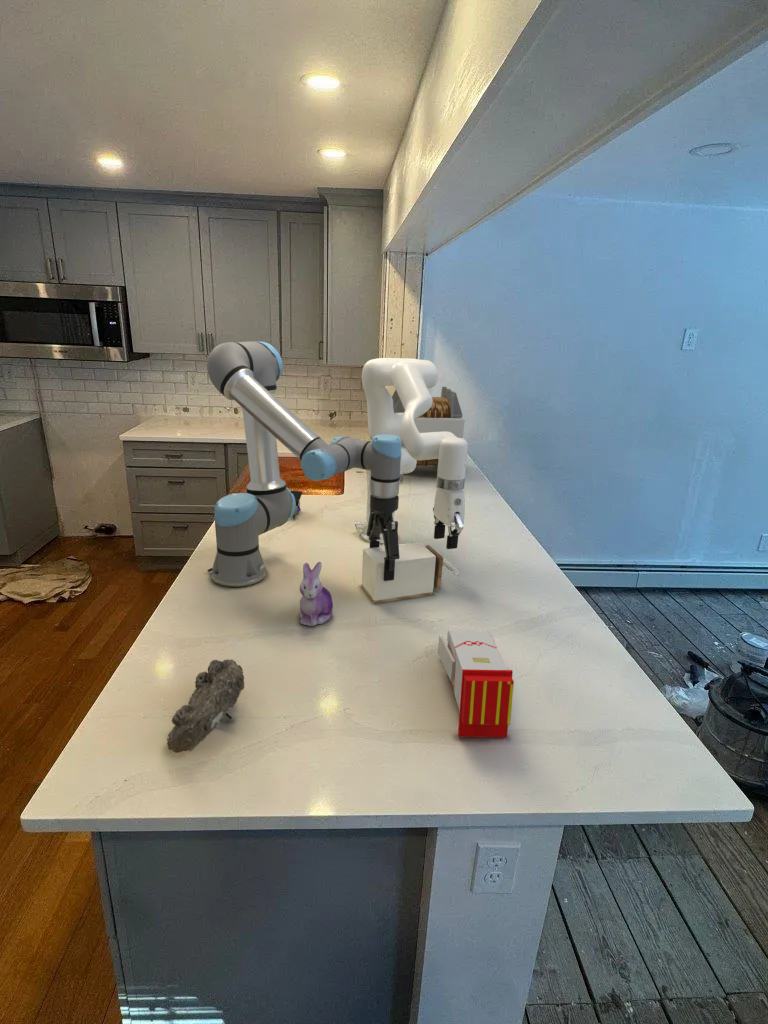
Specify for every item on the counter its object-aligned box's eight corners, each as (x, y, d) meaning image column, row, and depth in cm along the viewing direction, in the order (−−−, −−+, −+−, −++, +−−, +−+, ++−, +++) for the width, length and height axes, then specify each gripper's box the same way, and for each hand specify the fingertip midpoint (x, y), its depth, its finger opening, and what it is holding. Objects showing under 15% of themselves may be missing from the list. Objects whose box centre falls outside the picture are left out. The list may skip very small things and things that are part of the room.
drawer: (443, 572, 170) (445, 542, 166) (458, 586, 162) (461, 555, 158) (375, 582, 162) (376, 551, 158) (387, 597, 154) (389, 564, 150)
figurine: (305, 631, 137) (304, 575, 132) (291, 611, 146) (290, 558, 141) (340, 623, 142) (342, 569, 137) (325, 604, 150) (326, 552, 145)
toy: (488, 613, 130) (523, 677, 101) (484, 667, 133) (517, 744, 104) (435, 612, 130) (455, 676, 101) (432, 666, 133) (451, 743, 103)
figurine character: (298, 524, 207) (303, 507, 221) (298, 506, 204) (302, 489, 217) (280, 524, 207) (285, 506, 220) (279, 505, 204) (285, 488, 217)
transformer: (382, 463, 289) (386, 382, 275) (445, 464, 293) (451, 384, 279) (390, 482, 257) (394, 392, 243) (460, 483, 261) (468, 394, 247)
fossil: (192, 660, 117) (244, 628, 112) (224, 691, 120) (276, 661, 115) (142, 746, 98) (202, 712, 93) (182, 779, 101) (242, 748, 96)
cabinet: (417, 578, 167) (419, 541, 164) (432, 594, 158) (436, 556, 154) (361, 586, 161) (362, 548, 157) (374, 603, 152) (376, 564, 148)
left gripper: (416, 507, 140) (410, 587, 147) (381, 481, 159) (378, 553, 167) (387, 510, 137) (383, 591, 144) (356, 483, 157) (354, 556, 164)
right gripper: (478, 491, 148) (472, 553, 154) (447, 473, 163) (442, 531, 169) (453, 493, 146) (447, 557, 152) (424, 475, 161) (420, 533, 167)
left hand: (381, 571), depth 156 cm, fingers closed on cabinet, 10 cm apart
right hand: (445, 542), depth 161 cm, fingers open, 6 cm apart
